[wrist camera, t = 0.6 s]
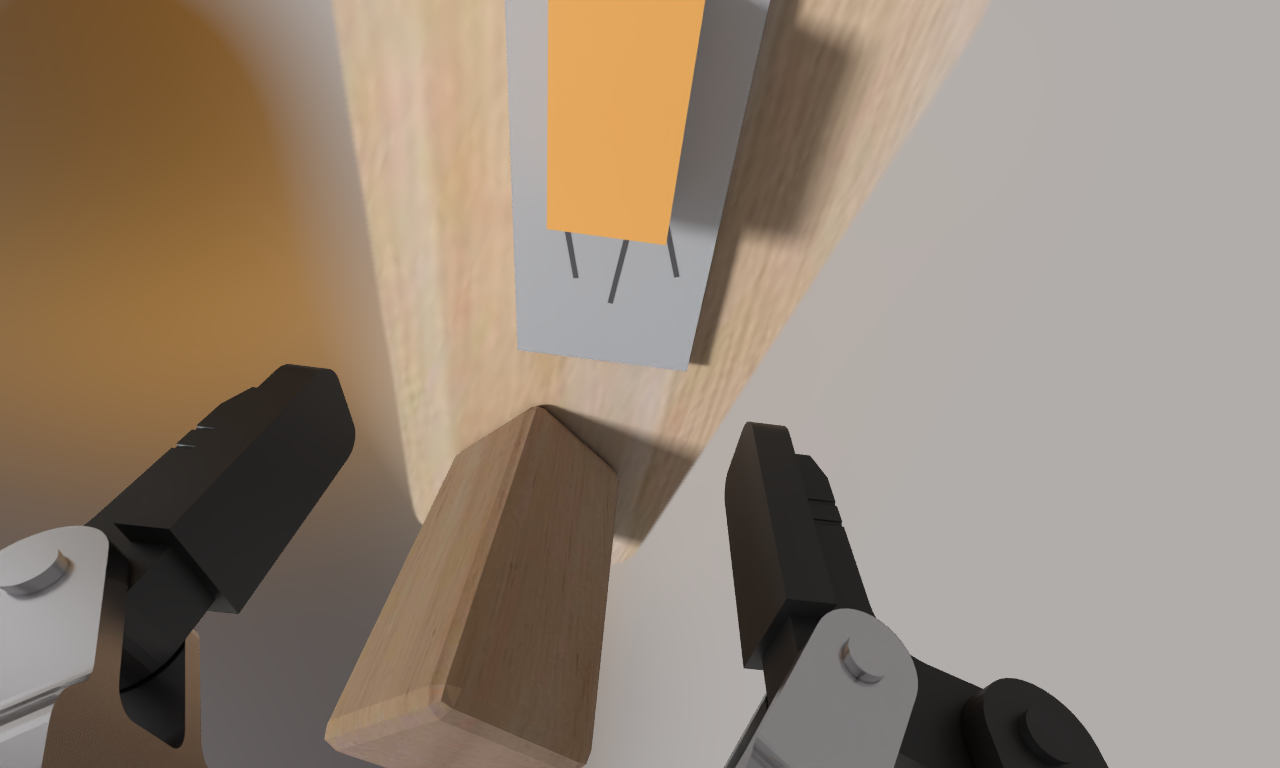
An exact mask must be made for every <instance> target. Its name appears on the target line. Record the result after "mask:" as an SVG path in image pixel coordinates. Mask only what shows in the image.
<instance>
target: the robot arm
mask: <svg viewBox="0 0 1280 768" xmlns="http://www.w3.org/2000/svg"><path fill="white" fill-rule="evenodd" d="M354 441H355V427H354V424H353V421H352V417H351V414H350V412H349V409H348V406H347V403H346V400H345V397H344V394H343V391H342V388H341V385H340V382H339V379H338V377H337V375H336V373H335V372H334V371H332V370H331V369H325V368H316V367H309V366H301V365H292V364H286V365H283V366H281V367H279V368H278V369H277V370H276V371H275V372H274V373H273V374H271V375H270V377H268V378H267V379H266V380H265V381H264V382H263V383H262V384H261V385H260V386H259V387H257V388H255V387H252V388H250V389H248V390H246V391H244V392H242V393H240V394H238V395H237V396H235V397H233V398H231V399H229V400H227V401H225V402H223V403H221V404H220V405H219V406H218V407H217V408H215V409H214V410H213V411H212V412H211V413H210V414H209V415H208V416H207V417H205V418H204V419H203V420H202V421H201V422H200V423H199V424H198V425H197V429H196V430H191V431H190V432H189V433H188V434H187V435H185V436H184V437H183V438H182V439H181V440H180V441H179V442H178V443H177V447H176V448H171V449H170V450H169V451H168V452H166V453H165V454H164V455H163V456H162V457H161V458H160V459H159V460H158V461H156V462H155V463H154V464H153V465H152V466H151V467H150V468H149V469H147V470H146V471H145V472H144V473H143V474H142V475H141V476H140V477H139V478H137V479H136V480H135V481H134V482H133V483H132V484H131V485H130V486H129V487H127V488H126V489H125V490H124V491H123V492H122V493H121V494H120V495H118V496H117V497H116V498H115V499H114V500H113V501H112V502H111V503H110V504H108V506H106V507H105V508H104V509H103V510H102V511H101V512H100V513H98V514H97V515H96V516H95V517H94V518H93V519H91V520H90V521H89V522H88V523H87V524H85V525H84V526H67V527H61V528H56V529H51V530H47V531H44V532H41V533H38V534H35V535H32V536H29V537H27V538H25V539H22V540H20V541H18V542H16V543H14V544H12V545H10V546H8V547H6V548H4V549H2V550H1V551H0V768H207V765H206V763H205V760H204V757H203V752H202V746H201V707H200V706H201V705H200V704H201V701H200V653H199V651H200V649H199V634H198V632H197V630H196V628H195V626H196V625H197V623H198V622H199V621H200V619H201V618H202V617H203V615H204V614H205V613H206V611H214V612H224V613H234V614H239V613H240V611H241V610H242V608H243V607H244V606H245V604H246V603H247V601H248V600H249V598H250V597H251V596H252V594H253V593H254V591H255V590H256V588H257V587H258V586H259V584H260V583H261V581H262V580H263V579H264V577H265V576H266V574H267V573H268V571H269V570H270V569H271V567H272V565H273V564H274V563H275V561H276V560H277V558H278V557H279V555H280V554H281V553H282V552H283V550H284V549H285V547H286V546H287V544H288V543H289V542H290V540H291V539H292V537H293V536H294V534H295V533H296V532H297V530H298V529H299V527H300V526H301V524H302V523H303V522H304V520H305V519H306V517H307V516H308V515H309V513H310V511H311V510H312V509H313V507H314V506H315V505H316V503H317V502H318V500H319V499H320V497H321V496H322V495H323V493H324V492H325V490H326V489H327V487H328V486H329V485H330V483H331V482H332V480H333V479H334V478H335V476H336V475H337V473H338V472H339V470H340V469H341V467H342V466H343V465H344V463H345V462H346V460H347V459H348V457H349V456H350V453H351V452H352V449H353V446H354ZM725 507H726V516H727V525H728V534H729V542H730V552H731V560H732V569H733V578H734V587H735V595H736V604H737V613H738V621H739V631H740V640H741V648H742V658H743V666H744V668H747V669H757V670H764V677H765V684H766V692H767V693H766V694H765V696H764V697H763V699H762V701H761V703H760V704H759V706H758V708H757V710H756V711H755V713H754V715H753V717H752V718H751V720H750V722H749V724H748V725H747V727H746V729H745V731H744V733H743V734H742V736H741V738H740V740H739V741H738V743H737V745H736V747H735V749H734V750H733V752H732V754H731V756H730V757H729V759H728V761H727V763H726V765H725V766H724V768H1108V766H1107V764H1106V762H1105V760H1104V759H1103V757H1102V755H1101V753H1100V751H1099V749H1098V747H1097V746H1096V744H1095V742H1094V741H1093V739H1092V737H1091V736H1090V734H1089V733H1088V731H1087V730H1086V729H1085V727H1084V726H1083V725H1082V723H1080V721H1079V720H1078V719H1077V718H1076V717H1075V715H1074V714H1073V713H1072V712H1071V711H1070V710H1069V709H1068V708H1066V707H1065V706H1064V705H1063V704H1062V703H1061V702H1060V701H1058V700H1057V699H1056V698H1055V697H1053V696H1052V695H1050V694H1049V693H1047V692H1046V691H1044V690H1043V689H1041V688H1039V687H1037V686H1035V685H1033V684H1031V683H1028V682H1026V681H1023V680H1019V679H1014V678H1005V679H999V680H997V681H995V682H993V683H991V684H990V685H988V686H987V687H986V688H984V689H982V688H980V687H977V686H975V685H973V684H971V683H968V682H966V681H964V680H961V679H959V678H957V677H955V676H952V675H950V674H948V673H945V672H943V671H941V670H939V669H936V668H934V667H932V666H930V665H927V664H925V663H923V662H921V661H919V660H918V659H916V658H915V657H913V656H911V655H910V654H909V652H908V650H907V649H906V647H905V646H904V644H903V643H902V641H901V640H900V639H899V638H898V637H897V635H896V634H895V633H894V632H893V631H892V630H891V629H890V628H889V627H887V626H886V625H885V624H884V623H882V622H881V621H880V620H878V619H876V617H875V615H874V613H873V612H872V609H871V606H870V604H869V601H868V598H867V595H866V592H865V589H864V586H863V583H862V580H861V577H860V574H859V571H858V568H857V565H856V562H855V559H854V556H853V553H852V550H851V547H850V544H849V541H848V538H847V535H846V532H845V529H844V527H842V524H841V523H842V520H841V517H840V514H839V511H838V508H837V506H835V499H834V496H833V493H832V490H831V487H830V484H829V481H828V478H827V477H826V475H825V474H824V473H823V472H822V470H821V469H820V468H819V467H818V465H817V464H816V463H815V461H814V460H813V459H812V458H811V457H810V456H808V455H800V454H795V452H794V448H793V445H792V441H791V437H790V434H789V431H788V429H787V428H786V427H785V426H780V425H771V424H763V423H755V422H747V423H746V424H745V426H744V428H743V430H742V433H741V436H740V439H739V442H738V444H737V447H736V450H735V453H734V456H733V459H732V461H731V465H730V467H729V470H728V473H727V477H726V484H725Z"/></svg>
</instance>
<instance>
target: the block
mask: <svg viewBox="0 0 1280 768" xmlns="http://www.w3.org/2000/svg"><path fill="white" fill-rule="evenodd" d="M618 485H619V481H618V477H617V475H616V473H615V471H614V470H613V469H612V468H611V467H610V466H609V465H608V464H606V463H605V462H604V461H603V460H602V459H601V458H600V457H599V456H597V455H596V454H595V453H594V452H593V451H592V450H591V449H589V448H588V447H587V446H586V445H585V444H584V443H583V442H582V441H580V440H579V439H578V438H577V437H576V436H575V435H574V434H573V433H571V432H570V431H569V430H568V429H567V428H566V427H565V426H564V425H562V424H561V423H560V422H559V421H558V420H557V419H556V418H555V417H553V416H552V415H551V414H550V413H549V412H548V411H547V410H545V409H544V408H541V407H539V406H536V407H531V408H530V409H528V410H527V411H525V412H524V413H522V414H520V415H519V416H517V417H516V418H514V419H513V420H511V421H509V422H508V423H506V424H505V425H503V426H502V427H500V428H498V429H497V430H495V431H494V432H492V433H491V434H489V435H487V436H486V437H484V438H483V439H481V440H480V441H478V442H477V443H475V444H473V445H472V446H470V447H469V448H467V449H466V450H464V451H462V452H461V453H460V454H458V455H457V456H456V457H455V459H454V461H453V463H452V465H451V467H450V469H449V471H448V473H447V476H446V478H445V480H444V482H443V484H442V486H441V488H440V490H439V492H438V494H437V496H436V499H435V501H434V503H433V505H432V507H431V509H430V511H429V513H428V515H427V517H426V519H425V522H424V524H423V526H422V528H421V530H420V532H419V534H418V536H417V538H416V541H415V543H414V545H413V547H412V549H411V551H410V553H409V555H408V557H407V559H406V561H405V563H404V565H403V568H402V570H401V572H400V574H399V576H398V578H397V580H396V582H395V584H394V587H393V588H392V591H391V593H390V595H389V597H388V599H387V601H386V603H385V605H384V607H383V610H382V611H381V614H380V616H379V618H378V620H377V622H376V624H375V626H374V628H373V630H372V632H371V634H370V637H369V639H368V641H367V643H366V645H365V647H364V649H363V651H362V653H361V655H360V657H359V660H358V662H357V664H356V666H355V668H354V670H353V672H352V674H351V676H350V678H349V680H348V682H347V685H346V687H345V689H344V691H343V693H342V695H341V697H340V699H339V701H338V703H337V705H336V708H335V710H334V712H333V714H332V716H331V718H330V720H329V722H328V724H327V729H326V734H325V740H326V741H327V742H328V743H329V744H330V745H331V746H332V747H333V748H334V749H335V750H336V751H338V752H341V753H344V754H347V755H350V756H353V757H356V758H359V759H362V760H365V761H368V762H371V763H374V764H377V765H380V766H383V767H386V768H581V767H583V766H584V765H585V764H586V763H587V760H588V758H589V755H590V752H591V748H592V738H593V729H594V719H595V709H596V700H597V689H598V680H599V670H600V661H601V650H602V641H603V631H604V621H605V611H606V601H607V592H608V582H609V573H610V563H611V553H612V543H613V534H614V524H615V514H616V504H617V495H618Z"/></svg>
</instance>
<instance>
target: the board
mask: <svg viewBox="0 0 1280 768" xmlns="http://www.w3.org/2000/svg"><path fill="white" fill-rule="evenodd" d="M769 3H770V0H705V5H704V12H703V18H702V24H701V30H700V37H699V43H698V49H697V55H696V61H695V68H694V74H693V80H692V86H691V93H690V99H689V105H688V111H687V117H686V124H685V130H684V136H683V142H682V149H681V155H680V161H679V167H678V173H677V180H676V186H675V192H674V198H673V204H672V211H671V217H670V223H669V229H668V236H667V242H666V245H660V244H653V243H646V242H638V241H631V240H624V239H616V238H609V237H602V236H594V235H587V234H580V233H572V232H565V231H558V230H550V229H547V114H548V0H505V21H506V48H507V75H508V101H509V128H510V155H511V182H512V209H513V235H514V262H515V289H516V316H517V343H518V350H521V351H529V352H537V353H545V354H553V355H560V356H568V357H576V358H584V359H592V360H600V361H608V362H616V363H624V364H632V365H640V366H648V367H656V368H664V369H671V370H679V371H687V368H688V363H689V359H690V354H691V350H692V346H693V341H694V337H695V332H696V328H697V323H698V319H699V314H700V310H701V306H702V301H703V297H704V292H705V288H706V283H707V279H708V274H709V270H710V266H711V261H712V257H713V252H714V248H715V243H716V239H717V234H718V230H719V226H720V221H721V217H722V212H723V208H724V203H725V199H726V194H727V190H728V186H729V181H730V177H731V172H732V168H733V163H734V159H735V154H736V150H737V145H738V141H739V137H740V132H741V128H742V123H743V119H744V114H745V110H746V105H747V101H748V97H749V92H750V88H751V83H752V79H753V74H754V70H755V65H756V61H757V57H758V52H759V48H760V43H761V39H762V34H763V30H764V25H765V21H766V17H767V12H768V8H769Z"/></svg>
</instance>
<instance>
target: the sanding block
mask: <svg viewBox="0 0 1280 768" xmlns="http://www.w3.org/2000/svg"><path fill="white" fill-rule="evenodd" d="M704 5H705V0H548V114H547V229H550V230H558V231H565V232H572V233H580V234H587V235H594V236H602V237H609V238H616V239H624V240H631V241H638V242H646V243H653V244H660V245H666V242H667V236H668V229H669V223H670V217H671V211H672V204H673V198H674V192H675V186H676V180H677V173H678V167H679V161H680V155H681V149H682V142H683V136H684V130H685V124H686V117H687V111H688V105H689V99H690V93H691V86H692V80H693V74H694V68H695V61H696V55H697V49H698V43H699V37H700V30H701V24H702V18H703V12H704Z"/></svg>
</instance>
